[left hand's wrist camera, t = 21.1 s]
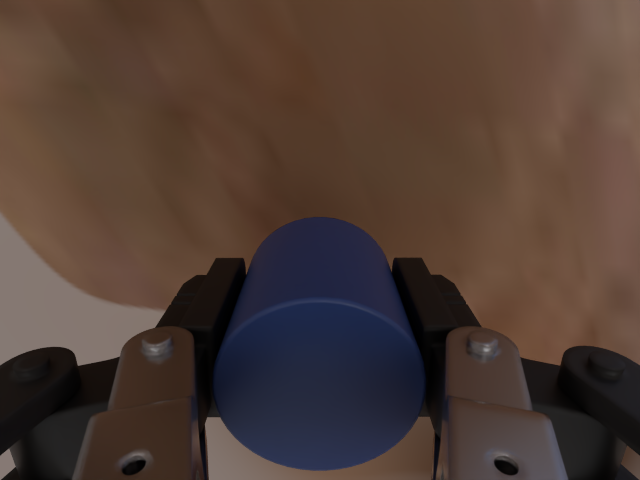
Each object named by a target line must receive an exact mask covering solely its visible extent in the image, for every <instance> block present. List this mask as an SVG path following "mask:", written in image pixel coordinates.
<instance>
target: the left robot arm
mask: <svg viewBox="0 0 640 480" xmlns="http://www.w3.org/2000/svg"><path fill="white" fill-rule="evenodd" d="M392 275H393V278H394V281H395V283H396V286H397V289H398V292H399V294H400V297H401V300H402V303H403V306H404V308H405V311H406V314H407V317H408V320H409V322H410V325H411V328H412V331H413V334H414V336H415V339H416V342H417V345H418V348H419V350H420V353H421V356H422V359H423V361H424V366H425V370H426V381H427V386H426V395H425V399H424V403H423V406H422V410H421V412H420V414H419V416H418V417H430V419H431V422H432V425H433V428H434V430H435V431H434V439H433V456H432V477H431V480H639V479H637V478H636V477H635V476H634V475H633V474H632V473H631V472H629V471H628V470H627V469H626V468H625V467H624V466H623V465H621V462H622V459H623V456H624V453H625V450H626V447H627V445H628V446H629V447H630V448H631V449H633V450H634V451H635V452H636V453H638V454H639V455H640V365H638V364H637V363H635V362H633V361H632V360H630V359H628V358H626V357H624V356H622V355H620V354H618V353H615V352H613V351H610V350H607V349H603V348H599V347H592V346H576V347H572V348H569V349H567V350H566V351H565V352H564V354H563V357H562V361H561V365H560V366H559V365H554V364H549V363H543V362H538V361H533V360H529V359H524V358H521V357H520V355H519V351H518V348H517V346H516V345H515V344H514V343H513V342H512V340H510V339H509V338H508V337H506V336H504V335H503V334H501V333H499V332H496V331H494V330H491V329H487V328H483V327H481V325H480V324H479V322H478V321H477V319H476V317H475V316H474V314H473V313H472V311H471V309H470V308H469V306H468V305H467V304H466V302H465V300H464V298H463V297H462V296H461V295H460V292H459V291H458V289H457V287H456V286H455V284H454V283H452V282H451V281H449V280H448V279H446V278H445V277H443V276H442V275H431V274H430V272H429V270H428V269H427V267H426V265H425V263H424V261H423V260H422V258H394V260H393V266H392ZM245 278H246V268H245V261H244V259H243V258H216V259H215V261H214V263H213V265H212V266H211V268H210V270H209V272H208V273H207V275H196V276H195V277H193V278H192V279H190V280H189V281H187V282H186V283H184V284H183V285H182V287H181V288H180V290H179V292H178V293H177V296H175V298H174V299H173V301H172V302H171V305H169V307H168V309H167V310H166V312H165V313H164V315H163V316H162V318H161V319H160V321H159V323H158V324H157V326H156V327H155V328H153V329H149V330H146V331H144V332H141V333H139V334H137V335H136V336H134V337H132V338H131V339H130V340H129V341H128V342H127V343H126V344H125V345H124V347H123V348H122V351H121V355H120V357H117V358H114V359H110V360H106V361H101V362H96V363H91V364H86V365H81V366H78V365H77V361H76V357H75V354H74V353H73V352H72V351H71V350H69V349H66V348H62V347H47V348H40V349H36V350H32V351H29V352H26V353H23V354H21V355H18V356H16V357H14V358H12V359H10V360H9V361H7V362H5V363H3V364H2V365H0V455H1V454H2V453H4V452H5V451H6V450H7V449H10V452H11V454H12V457H13V460H14V463H15V466H16V467H15V468H14V469H13V470H12V471H11V472H9V473H8V474H7V475H6V476H5V477H4V478H3V479H1V480H209V477H208V456H207V439H206V431H205V422H206V419H207V417H220V415H219V413H218V411H217V408H216V405H215V401H214V397H213V391H212V373H213V368H214V363H215V360H216V357H217V355H218V352H219V349H220V346H221V344H222V341H223V338H224V335H225V333H226V330H227V327H228V324H229V322H230V319H231V316H232V313H233V311H234V308H235V305H236V302H237V300H238V297H239V294H240V291H241V289H242V286H243V283H244V280H245Z"/></svg>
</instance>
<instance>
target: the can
mask: <svg viewBox="0 0 640 480" xmlns="http://www.w3.org/2000/svg"><path fill="white" fill-rule="evenodd" d="M426 386H427V381H426V370H425V366H424V361H423V359H422V356H421V353H420V350H419V348H418V345H417V342H416V339H415V336H414V334H413V331H412V328H411V325H410V322H409V320H408V317H407V314H406V311H405V308H404V306H403V303H402V300H401V297H400V294H399V292H398V289H397V286H396V283H395V281H394V278H393V275H392V272H391V269H390V267H389V264H388V261H387V259H386V256H385V254H384V253H383V251H382V249H381V248H380V246H379V245H378V244H377V242H376V241H375V240H374V239H373V238H372V237H371V236H370V235H369V234H367V233H366V232H365V231H363V230H362V229H360V228H358V227H357V226H355V225H353V224H351V223H348V222H346V221H343V220H339V219H335V218H327V217H312V218H304V219H300V220H296V221H293V222H291V223H288V224H286V225H284V226H282V227H280V228H279V229H277V230H276V231H274V232H273V233H272V234H270V235H269V236H268V237H267V238H266V239H265V240H264V241H263V242H262V244H261V245H260V246H259V248H258V249H257V251H256V253H255V254H254V256H253V259H252V261H251V264H250V267H249V269H248V272H247V275H246V278H245V280H244V283H243V286H242V289H241V291H240V294H239V297H238V300H237V302H236V305H235V308H234V311H233V313H232V316H231V319H230V322H229V324H228V327H227V330H226V333H225V335H224V338H223V341H222V344H221V346H220V349H219V352H218V355H217V357H216V360H215V363H214V368H213V373H212V391H213V397H214V401H215V405H216V408H217V411H218V413H219V415H220V417H221V419H222V421H223V423H224V424H225V426H226V427H227V429H228V430H229V431H230V432H231V434H232V435H233V436H234V437H235V438H236V439H237V440H238V441H239V442H240V443H242V444H243V445H244V446H245V447H246V448H248V449H249V450H251V451H252V452H254V453H255V454H257V455H259V456H261V457H263V458H265V459H267V460H269V461H272V462H274V463H277V464H280V465H283V466H287V467H291V468H296V469H302V470H313V471H325V470H336V469H342V468H347V467H352V466H355V465H359V464H362V463H365V462H367V461H369V460H372V459H374V458H376V457H378V456H380V455H381V454H383V453H385V452H386V451H388V450H389V449H391V448H392V447H393V446H395V445H396V444H397V443H398V442H399V441H400V440H401V439H403V438H404V437H405V435H406V434H407V433H408V432H409V431H410V429H411V428H412V427H413V425H414V423H415V422H416V420H417V418H418V416H419V414H420V412H421V410H422V406H423V403H424V399H425V395H426Z"/></svg>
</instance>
